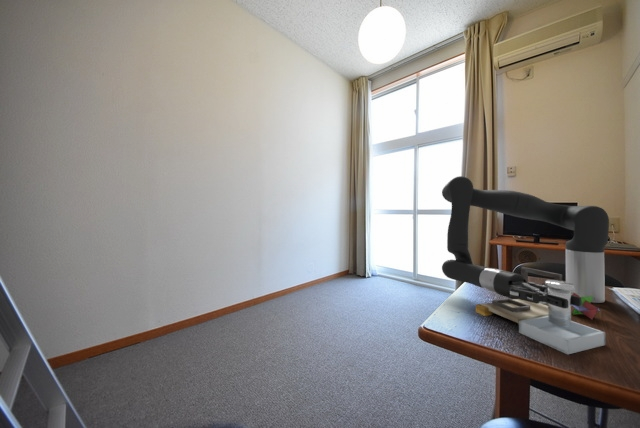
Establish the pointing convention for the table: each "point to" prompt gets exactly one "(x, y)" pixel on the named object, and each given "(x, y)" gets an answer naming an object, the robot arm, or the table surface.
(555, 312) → the pin
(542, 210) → the robot arm
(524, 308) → the dolly
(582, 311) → the geometric puzzle
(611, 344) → the table surface
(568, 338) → the tray
